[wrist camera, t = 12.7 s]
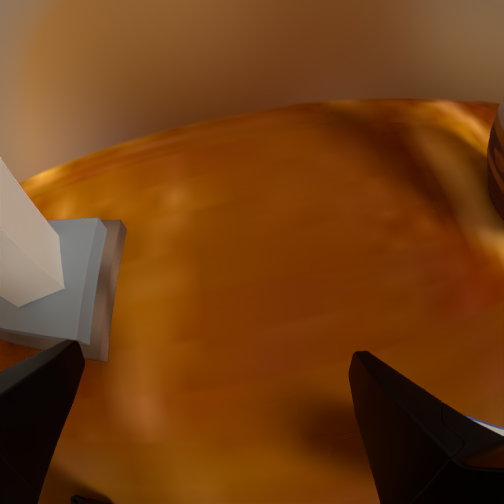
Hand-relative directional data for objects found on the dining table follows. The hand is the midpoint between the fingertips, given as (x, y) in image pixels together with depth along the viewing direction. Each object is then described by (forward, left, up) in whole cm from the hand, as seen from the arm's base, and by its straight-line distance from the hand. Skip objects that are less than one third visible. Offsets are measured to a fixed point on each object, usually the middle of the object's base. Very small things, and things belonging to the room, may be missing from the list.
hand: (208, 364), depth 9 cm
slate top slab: (+6, +16, -12) cm, 21 cm away
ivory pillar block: (+7, +16, -10) cm, 20 cm away
